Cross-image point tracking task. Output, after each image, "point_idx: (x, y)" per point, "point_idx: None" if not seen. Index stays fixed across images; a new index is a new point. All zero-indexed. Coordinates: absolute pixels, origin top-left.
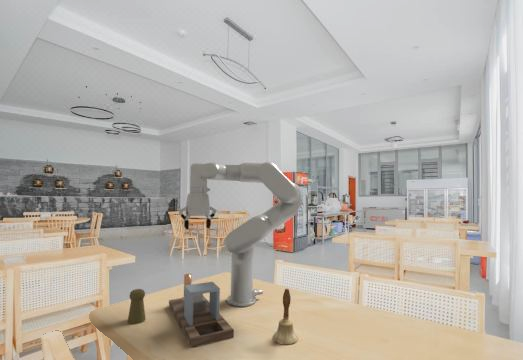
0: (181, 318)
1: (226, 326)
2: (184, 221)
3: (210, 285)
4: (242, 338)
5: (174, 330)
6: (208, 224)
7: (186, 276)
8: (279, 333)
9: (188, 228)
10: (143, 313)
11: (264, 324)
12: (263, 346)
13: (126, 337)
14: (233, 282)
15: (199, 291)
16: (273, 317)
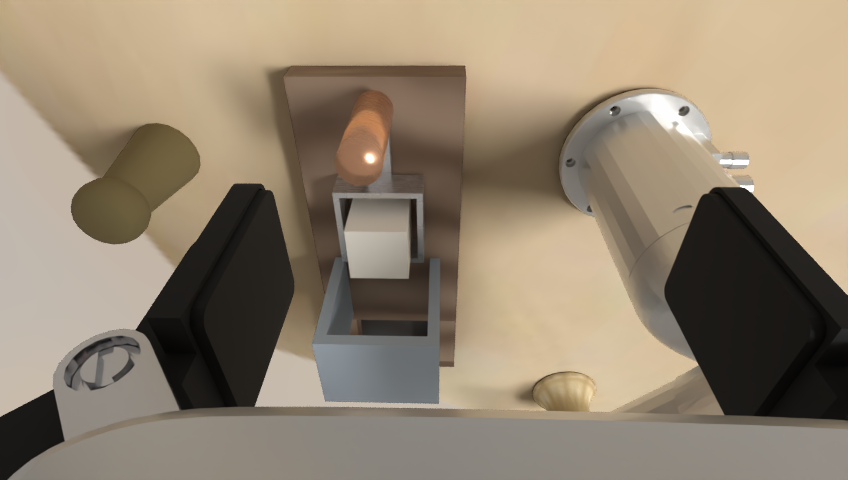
0: (325, 266)
1: (442, 350)
2: (144, 329)
3: (415, 375)
4: (471, 359)
5: (306, 268)
6: (696, 349)
7: (347, 179)
8: (546, 408)
9: (288, 297)
10: (182, 185)
11: (567, 332)
12: (496, 394)
13: (166, 251)
14: (602, 228)
15: (358, 401)
16: (624, 312)
